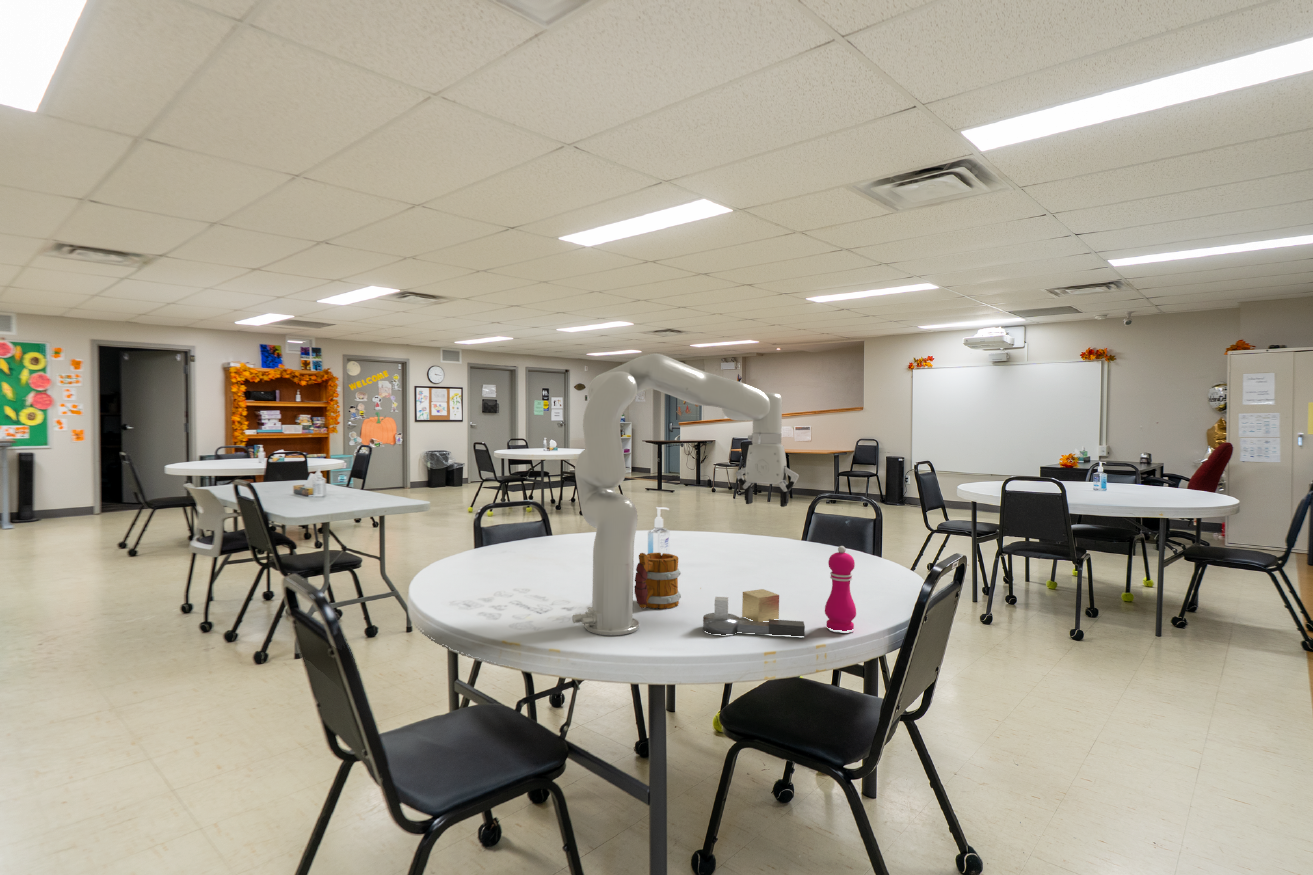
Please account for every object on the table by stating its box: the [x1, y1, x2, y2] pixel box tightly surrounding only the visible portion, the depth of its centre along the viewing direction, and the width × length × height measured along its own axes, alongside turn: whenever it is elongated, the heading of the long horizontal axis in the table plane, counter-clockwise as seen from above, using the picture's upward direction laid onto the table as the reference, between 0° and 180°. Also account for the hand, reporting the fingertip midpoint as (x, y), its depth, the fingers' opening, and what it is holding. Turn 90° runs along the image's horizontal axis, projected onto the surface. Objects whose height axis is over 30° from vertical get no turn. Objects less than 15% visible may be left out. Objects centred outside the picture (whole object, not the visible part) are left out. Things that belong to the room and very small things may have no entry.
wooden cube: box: [741, 588, 780, 622], centre depth 161 cm, size 6×6×6 cm
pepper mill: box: [824, 545, 857, 631], centre depth 154 cm, size 7×7×20 cm
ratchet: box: [702, 596, 806, 637], centre depth 150 cm, size 23×8×8 cm, turn 81°
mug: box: [633, 552, 682, 610], centre depth 171 cm, size 11×16×15 cm, turn 146°
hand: (766, 504), depth 170 cm, fingers open, 9 cm apart
